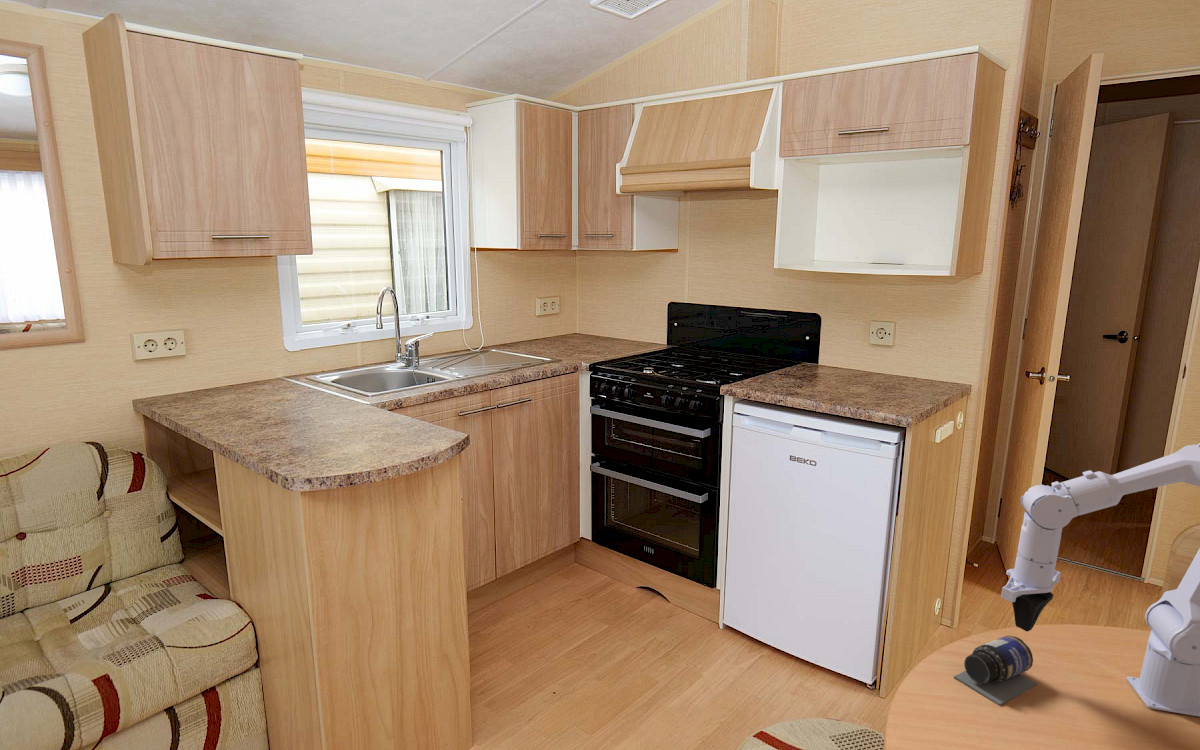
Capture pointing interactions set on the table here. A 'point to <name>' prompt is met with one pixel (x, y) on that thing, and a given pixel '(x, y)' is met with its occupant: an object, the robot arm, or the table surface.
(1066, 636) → the table surface
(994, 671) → the pill bottle
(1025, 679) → the rubber mat
